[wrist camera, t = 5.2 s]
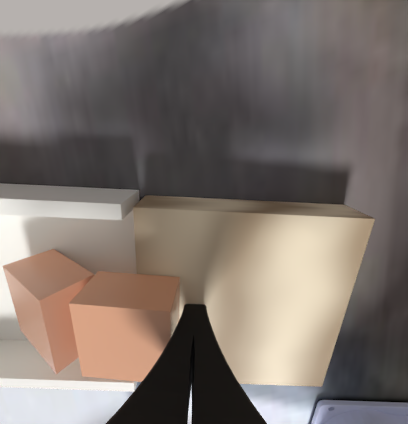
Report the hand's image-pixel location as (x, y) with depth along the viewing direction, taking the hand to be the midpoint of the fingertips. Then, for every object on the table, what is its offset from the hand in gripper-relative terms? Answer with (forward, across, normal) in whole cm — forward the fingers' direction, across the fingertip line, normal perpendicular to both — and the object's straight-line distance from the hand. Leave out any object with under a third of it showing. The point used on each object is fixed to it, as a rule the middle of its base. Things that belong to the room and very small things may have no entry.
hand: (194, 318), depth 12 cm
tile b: (+2, +7, 0) cm, 7 cm away
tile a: (+1, +3, 0) cm, 3 cm away
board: (+3, -3, 0) cm, 4 cm away
